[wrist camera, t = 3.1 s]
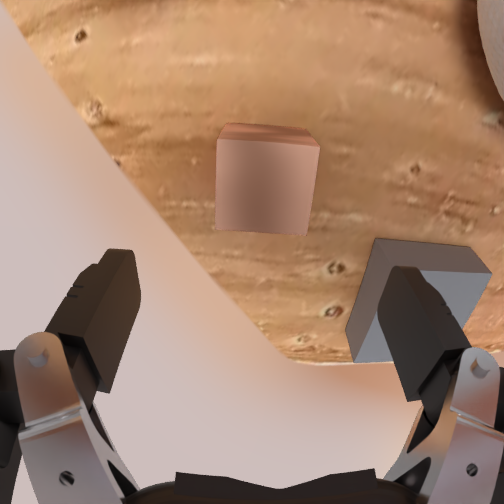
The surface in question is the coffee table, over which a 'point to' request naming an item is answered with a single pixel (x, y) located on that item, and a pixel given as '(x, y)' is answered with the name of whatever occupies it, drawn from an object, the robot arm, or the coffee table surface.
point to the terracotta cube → (265, 178)
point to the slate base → (433, 270)
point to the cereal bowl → (493, 38)
